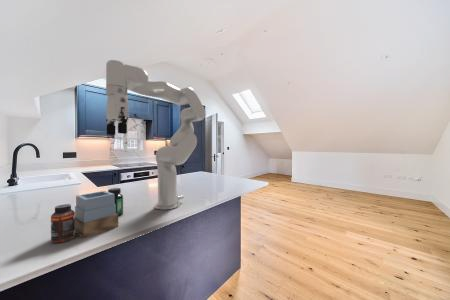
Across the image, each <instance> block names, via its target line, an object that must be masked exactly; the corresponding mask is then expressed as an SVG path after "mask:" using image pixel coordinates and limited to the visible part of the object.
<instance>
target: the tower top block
mask: <svg viewBox="0 0 450 300" xmlns="http://www.w3.org/2000/svg"><path fill="white" fill-rule="evenodd" d="M75 204H76V205H75V206H74V212H75V217H76V218H77V219H79V220H80V221H82V222H83V223H87V222H91V221H94V220H98V219H101V218H105V217H109V216H112V215H116V204H115V194H113V193H110V192H108V190H101V191H94V192H88V193H83V194H77V195H76V196H75Z"/></svg>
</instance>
